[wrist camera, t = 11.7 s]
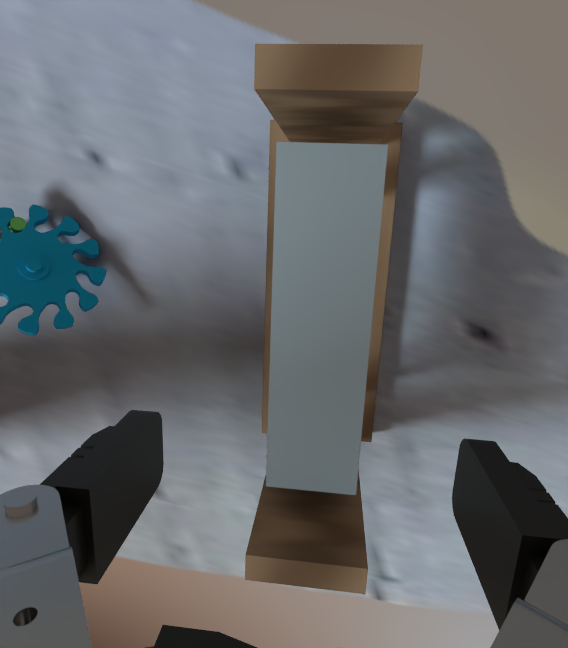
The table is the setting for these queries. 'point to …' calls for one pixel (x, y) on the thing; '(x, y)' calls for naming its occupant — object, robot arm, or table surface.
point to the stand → (375, 128)
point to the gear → (43, 268)
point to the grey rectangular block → (322, 310)
